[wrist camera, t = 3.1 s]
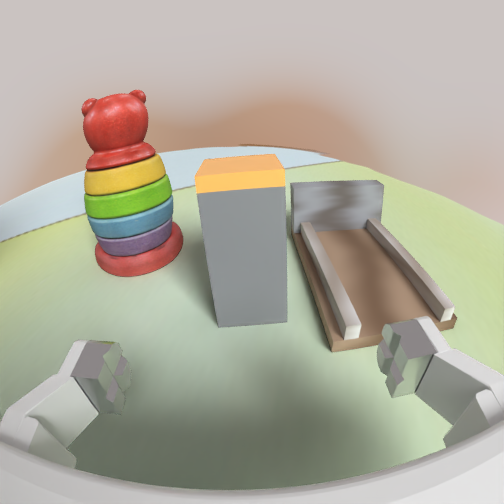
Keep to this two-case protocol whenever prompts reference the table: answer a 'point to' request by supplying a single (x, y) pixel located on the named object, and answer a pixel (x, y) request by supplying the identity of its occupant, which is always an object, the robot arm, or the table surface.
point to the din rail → (359, 264)
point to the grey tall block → (245, 237)
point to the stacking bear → (127, 189)
